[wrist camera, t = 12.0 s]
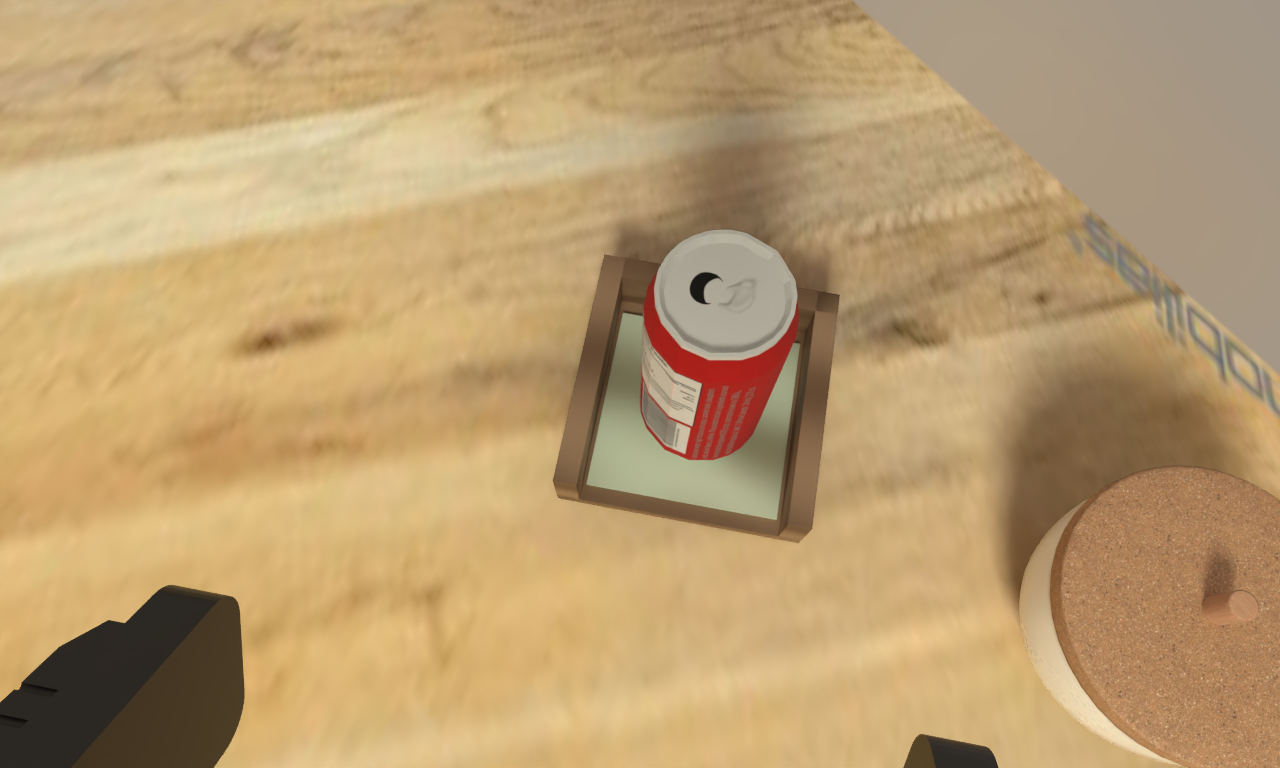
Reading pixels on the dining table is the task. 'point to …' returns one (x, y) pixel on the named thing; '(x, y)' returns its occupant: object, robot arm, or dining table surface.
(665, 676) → the dining table surface
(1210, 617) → the lidded jar
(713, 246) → the soda can
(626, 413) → the caddy
